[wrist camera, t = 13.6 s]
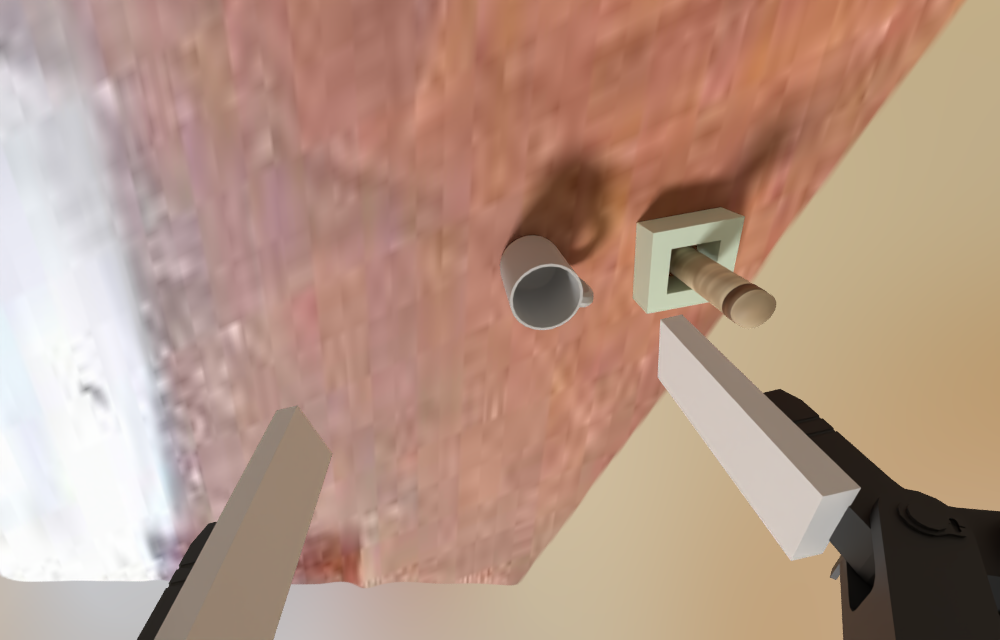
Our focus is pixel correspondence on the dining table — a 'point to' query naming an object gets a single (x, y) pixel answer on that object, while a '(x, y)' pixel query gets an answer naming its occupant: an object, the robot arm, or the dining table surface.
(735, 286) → the striped wooden dowel
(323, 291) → the dining table surface
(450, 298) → the dining table surface
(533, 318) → the cup
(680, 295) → the square block with hole
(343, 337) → the dining table surface
